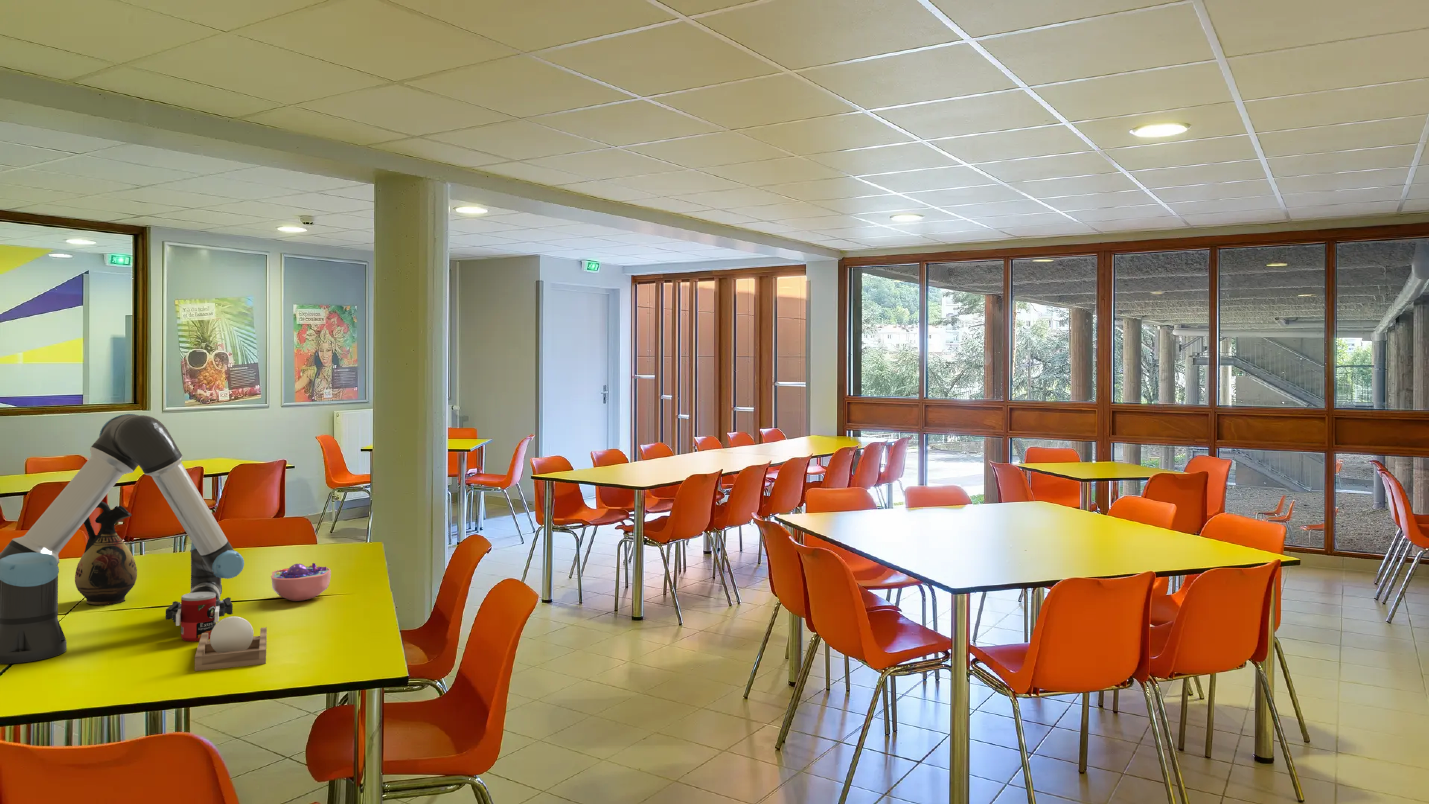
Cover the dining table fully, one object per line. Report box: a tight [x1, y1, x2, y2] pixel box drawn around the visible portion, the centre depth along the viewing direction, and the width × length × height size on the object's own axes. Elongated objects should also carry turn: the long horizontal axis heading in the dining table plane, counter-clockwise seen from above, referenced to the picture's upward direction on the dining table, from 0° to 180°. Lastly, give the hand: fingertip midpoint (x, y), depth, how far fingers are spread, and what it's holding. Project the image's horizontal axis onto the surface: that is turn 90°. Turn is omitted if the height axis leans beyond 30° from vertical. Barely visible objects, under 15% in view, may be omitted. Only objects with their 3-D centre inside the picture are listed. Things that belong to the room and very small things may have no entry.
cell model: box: [270, 562, 332, 602], centre depth 279 cm, size 17×20×11 cm
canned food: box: [180, 592, 217, 643], centre depth 234 cm, size 8×8×11 cm
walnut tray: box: [194, 626, 268, 672], centre depth 220 cm, size 22×14×3 cm, turn 26°
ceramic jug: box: [74, 500, 138, 606], centre depth 272 cm, size 17×15×30 cm
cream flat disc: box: [209, 615, 255, 653], centre depth 216 cm, size 1×9×9 cm, turn 116°
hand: (197, 618), depth 230 cm, fingers closed on canned food, 8 cm apart
